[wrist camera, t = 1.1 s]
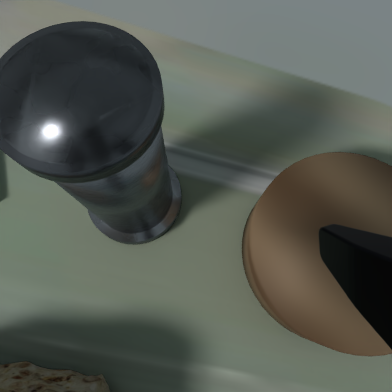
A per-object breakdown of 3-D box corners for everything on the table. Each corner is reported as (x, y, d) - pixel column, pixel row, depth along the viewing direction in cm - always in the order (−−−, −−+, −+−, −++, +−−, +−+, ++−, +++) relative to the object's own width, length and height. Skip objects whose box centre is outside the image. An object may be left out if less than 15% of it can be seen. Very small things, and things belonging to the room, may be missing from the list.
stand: (341, 387, 20) (377, 410, 16) (207, 251, 22) (210, 243, 18) (442, 253, 22) (494, 245, 18) (312, 145, 25) (334, 118, 21)
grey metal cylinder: (132, 264, 22) (53, 225, 9) (72, 198, 23) (-66, 88, 11) (200, 199, 23) (210, 92, 11) (140, 141, 25) (88, -13, 12)
